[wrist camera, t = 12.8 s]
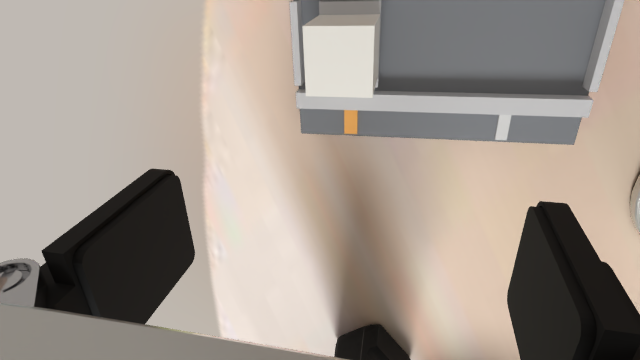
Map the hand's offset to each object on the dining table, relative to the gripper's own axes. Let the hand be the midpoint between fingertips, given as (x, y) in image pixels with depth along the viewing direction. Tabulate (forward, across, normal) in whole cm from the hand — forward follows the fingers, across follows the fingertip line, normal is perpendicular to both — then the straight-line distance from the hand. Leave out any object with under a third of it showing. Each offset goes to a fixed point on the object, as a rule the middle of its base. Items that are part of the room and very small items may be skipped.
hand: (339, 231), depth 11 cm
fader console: (+23, -3, -2) cm, 23 cm away
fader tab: (+20, +3, -1) cm, 21 cm away
